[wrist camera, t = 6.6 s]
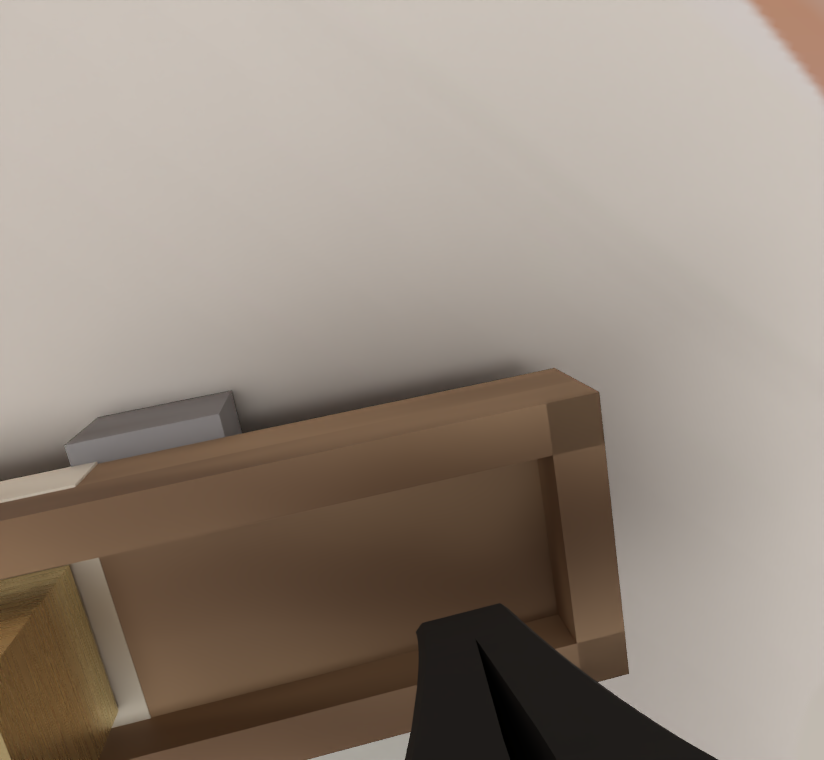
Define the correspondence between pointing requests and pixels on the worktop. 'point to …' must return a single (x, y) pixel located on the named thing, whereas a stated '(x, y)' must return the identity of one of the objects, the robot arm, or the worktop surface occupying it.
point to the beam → (319, 557)
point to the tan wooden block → (50, 672)
